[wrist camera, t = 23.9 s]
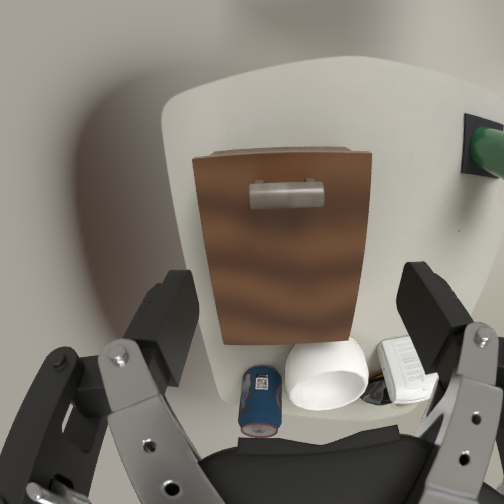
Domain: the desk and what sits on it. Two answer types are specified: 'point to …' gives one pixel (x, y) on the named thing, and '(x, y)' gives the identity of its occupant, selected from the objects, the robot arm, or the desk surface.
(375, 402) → the computer mouse
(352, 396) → the cup
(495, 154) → the green pot
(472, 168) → the mat
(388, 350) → the photo printer
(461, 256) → the desk surface
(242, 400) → the soda can
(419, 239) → the desk surface
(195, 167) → the lid
